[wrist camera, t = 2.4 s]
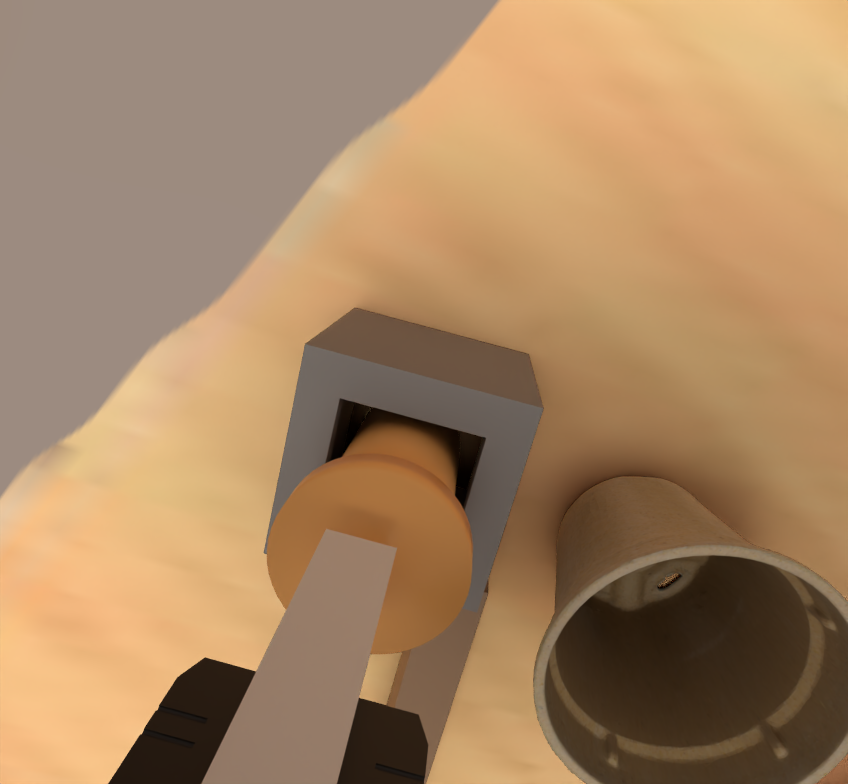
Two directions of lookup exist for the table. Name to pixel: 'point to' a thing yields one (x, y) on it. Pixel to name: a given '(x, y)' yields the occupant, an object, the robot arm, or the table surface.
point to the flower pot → (687, 649)
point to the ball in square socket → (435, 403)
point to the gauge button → (387, 524)
